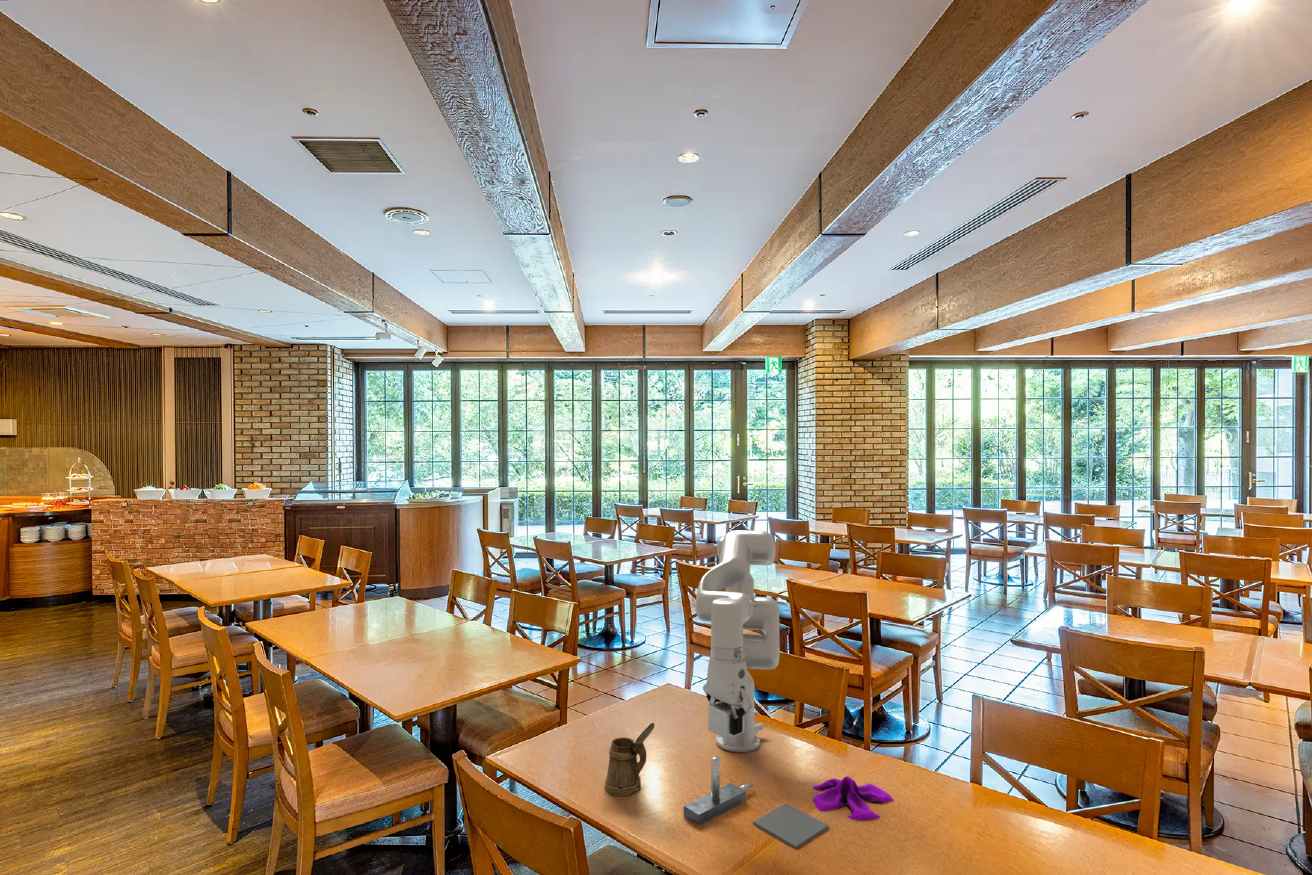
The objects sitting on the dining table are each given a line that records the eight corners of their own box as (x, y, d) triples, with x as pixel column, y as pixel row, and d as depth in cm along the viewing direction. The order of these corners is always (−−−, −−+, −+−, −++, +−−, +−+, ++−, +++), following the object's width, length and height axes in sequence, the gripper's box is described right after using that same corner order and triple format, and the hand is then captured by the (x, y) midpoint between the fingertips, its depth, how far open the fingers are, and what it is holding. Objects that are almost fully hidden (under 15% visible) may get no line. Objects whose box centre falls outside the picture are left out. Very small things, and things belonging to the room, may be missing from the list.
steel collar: (726, 723, 157) (726, 698, 157) (744, 731, 153) (744, 706, 153) (708, 730, 154) (708, 704, 154) (726, 738, 149) (726, 712, 149)
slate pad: (786, 805, 155) (786, 802, 155) (828, 827, 146) (828, 824, 146) (753, 824, 147) (753, 821, 147) (795, 848, 138) (795, 845, 138)
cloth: (896, 793, 162) (896, 768, 163) (887, 831, 146) (887, 803, 146) (808, 772, 172) (808, 749, 173) (789, 806, 156) (789, 780, 156)
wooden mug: (643, 805, 155) (644, 729, 156) (597, 789, 162) (598, 717, 162) (662, 788, 163) (662, 716, 163) (617, 774, 170) (618, 705, 170)
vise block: (744, 786, 164) (744, 738, 164) (759, 794, 160) (759, 745, 161) (683, 816, 150) (683, 764, 151) (698, 825, 147) (698, 772, 147)
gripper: (765, 657, 149) (764, 736, 149) (712, 640, 163) (712, 712, 162) (742, 664, 144) (742, 745, 144) (690, 646, 158) (690, 720, 157)
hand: (726, 727), depth 153 cm, fingers closed on steel collar, 6 cm apart
